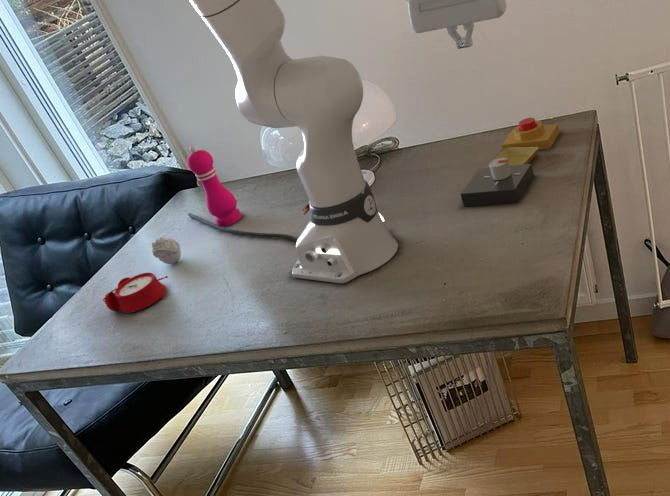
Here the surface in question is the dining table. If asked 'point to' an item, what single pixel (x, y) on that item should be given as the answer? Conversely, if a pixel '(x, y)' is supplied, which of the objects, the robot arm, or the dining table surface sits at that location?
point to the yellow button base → (532, 137)
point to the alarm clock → (135, 293)
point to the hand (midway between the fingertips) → (465, 47)
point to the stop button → (527, 124)
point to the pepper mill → (213, 188)
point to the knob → (500, 168)
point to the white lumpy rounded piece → (166, 250)
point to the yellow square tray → (518, 155)
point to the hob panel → (497, 187)
